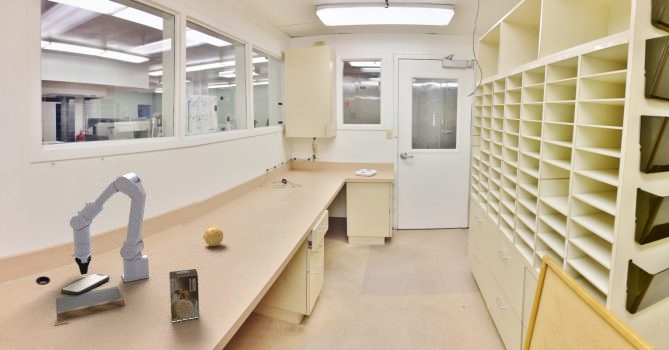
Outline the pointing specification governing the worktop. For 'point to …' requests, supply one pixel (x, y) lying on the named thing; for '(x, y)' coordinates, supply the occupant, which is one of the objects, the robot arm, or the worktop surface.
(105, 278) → the phone case
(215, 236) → the stress ball
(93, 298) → the mat
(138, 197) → the robot arm
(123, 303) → the back rail
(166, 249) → the worktop surface
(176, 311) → the coffee box
